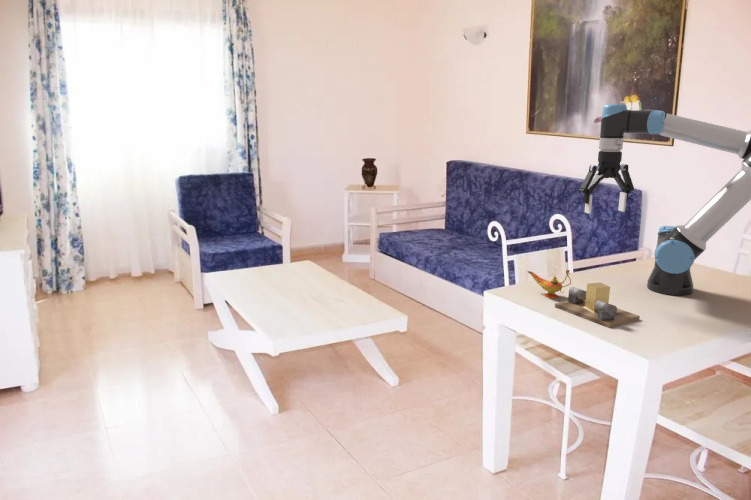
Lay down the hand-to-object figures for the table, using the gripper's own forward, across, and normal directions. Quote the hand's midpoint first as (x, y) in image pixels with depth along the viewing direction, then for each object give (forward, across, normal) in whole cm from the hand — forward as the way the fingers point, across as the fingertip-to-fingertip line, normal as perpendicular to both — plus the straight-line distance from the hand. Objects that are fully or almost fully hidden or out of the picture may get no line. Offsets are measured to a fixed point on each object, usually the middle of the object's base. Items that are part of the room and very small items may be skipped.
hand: (604, 212), depth 215 cm
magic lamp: (+29, -20, 0) cm, 35 cm away
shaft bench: (+29, -15, -20) cm, 38 cm away
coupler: (+27, -15, -20) cm, 37 cm away
